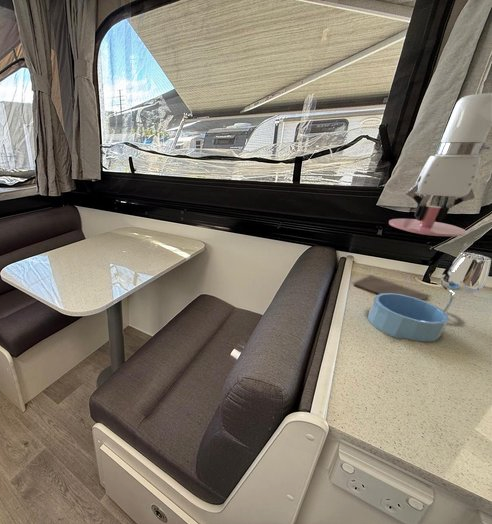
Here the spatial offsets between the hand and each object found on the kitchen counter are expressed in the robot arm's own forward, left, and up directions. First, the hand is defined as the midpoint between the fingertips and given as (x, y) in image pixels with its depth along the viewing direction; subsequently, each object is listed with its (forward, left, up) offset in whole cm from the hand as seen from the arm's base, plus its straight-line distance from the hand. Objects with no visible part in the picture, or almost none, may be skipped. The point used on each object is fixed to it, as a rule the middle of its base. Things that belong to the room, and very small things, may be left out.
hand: (427, 219), depth 76 cm
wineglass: (-11, 0, -27) cm, 30 cm away
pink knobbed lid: (0, 0, -2) cm, 2 cm away
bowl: (-7, +14, -27) cm, 31 cm away
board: (+4, -6, -27) cm, 28 cm away
